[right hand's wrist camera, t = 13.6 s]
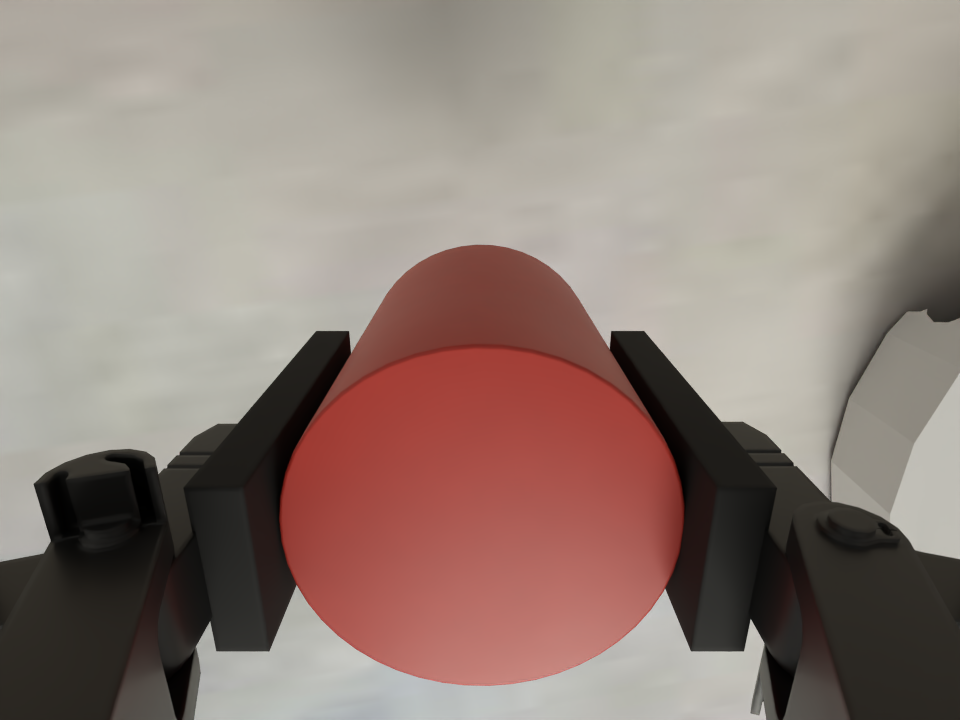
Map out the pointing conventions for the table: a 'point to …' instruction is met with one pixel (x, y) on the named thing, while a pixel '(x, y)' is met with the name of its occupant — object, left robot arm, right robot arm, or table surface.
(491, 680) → the canister
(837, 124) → the table surface
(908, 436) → the ashtray
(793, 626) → the right robot arm
